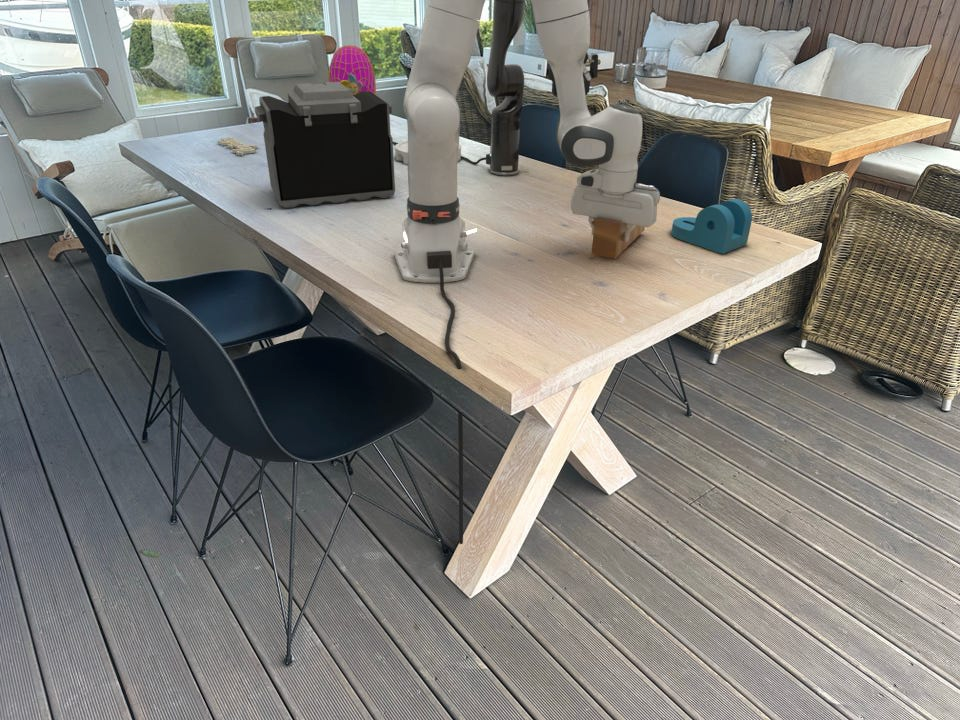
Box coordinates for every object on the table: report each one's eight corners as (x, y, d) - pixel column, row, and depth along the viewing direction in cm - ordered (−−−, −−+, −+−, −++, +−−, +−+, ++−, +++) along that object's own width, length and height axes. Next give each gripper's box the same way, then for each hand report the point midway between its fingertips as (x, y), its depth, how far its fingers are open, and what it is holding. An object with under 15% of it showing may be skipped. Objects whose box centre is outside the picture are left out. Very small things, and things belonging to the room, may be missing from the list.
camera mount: (746, 244, 173) (755, 203, 168) (722, 254, 167) (730, 212, 162) (687, 225, 185) (693, 186, 180) (662, 233, 179) (668, 194, 174)
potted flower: (342, 144, 260) (336, 73, 247) (351, 139, 266) (346, 70, 254) (365, 146, 257) (360, 74, 245) (374, 141, 264) (369, 71, 251)
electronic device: (382, 177, 221) (376, 78, 206) (401, 197, 203) (396, 90, 188) (265, 188, 209) (249, 84, 194) (274, 210, 192) (257, 97, 176)
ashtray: (454, 167, 232) (454, 155, 230) (388, 164, 235) (387, 152, 233) (466, 151, 252) (466, 140, 250) (404, 148, 255) (404, 137, 253)
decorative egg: (362, 116, 305) (357, 42, 290) (386, 123, 292) (382, 46, 277) (324, 121, 294) (316, 45, 279) (347, 129, 281) (340, 49, 266)
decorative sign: (265, 149, 247) (238, 153, 242) (266, 152, 248) (239, 156, 243) (238, 135, 265) (212, 139, 260) (239, 138, 266) (213, 141, 260)
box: (614, 258, 162) (619, 223, 157) (591, 253, 164) (594, 219, 160) (644, 230, 179) (648, 197, 174) (622, 226, 181) (626, 194, 177)
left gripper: (665, 183, 155) (656, 241, 162) (581, 170, 163) (576, 226, 171) (656, 190, 150) (648, 250, 157) (570, 176, 159) (565, 233, 166)
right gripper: (593, 28, 185) (587, 92, 193) (544, 29, 181) (540, 94, 189) (606, 31, 179) (599, 96, 187) (555, 32, 175) (551, 99, 183)
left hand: (609, 237), depth 164 cm, fingers closed on box, 6 cm apart
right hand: (570, 95), depth 188 cm, fingers open, 8 cm apart
